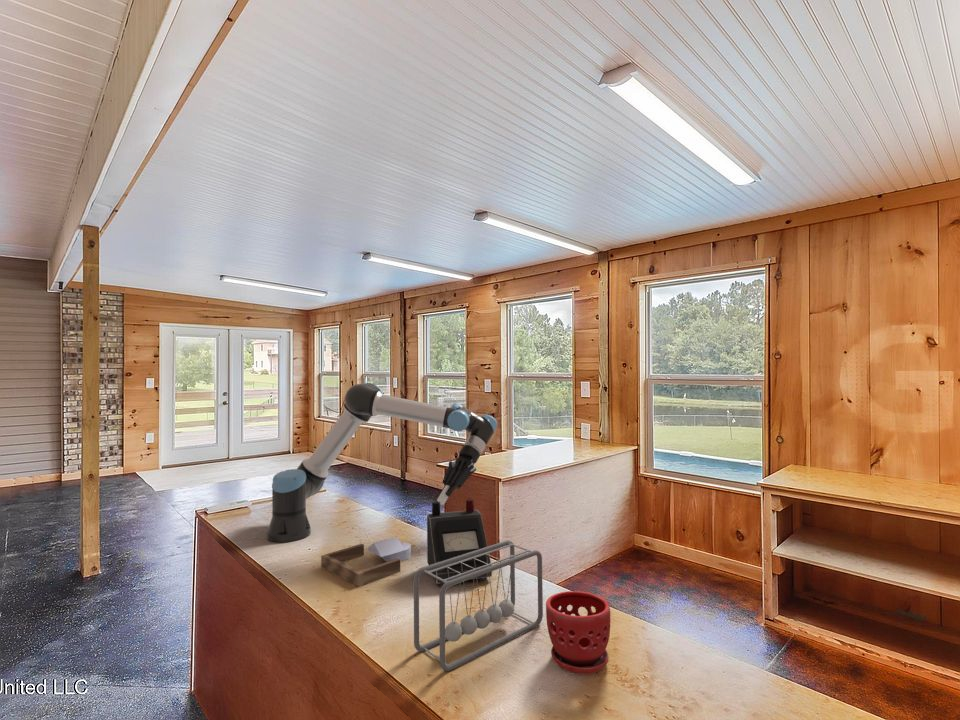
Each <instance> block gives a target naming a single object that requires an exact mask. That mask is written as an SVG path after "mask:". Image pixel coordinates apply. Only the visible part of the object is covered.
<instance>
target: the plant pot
mask: <svg viewBox="0 0 960 720" xmlns="http://www.w3.org/2000/svg"><path fill="white" fill-rule="evenodd" d="M569 606H571V607H572V608H571V609H570V610H569V609H568V607H569ZM592 607H593V608H594V609H595V611H593V609H592ZM579 608H584V609H585V610H586V611H587V614H586V615H580V613H579V610H580V609H579ZM545 615H546V618H545V619H546V625H547V632H548V635H549V639H550V641H551V645H552V647H551V650H550V654H551V658H552V659H553V662H554V663H555V664H556V665H557V666H558V667H559V668H561V669H563V670H564V671H566V672H569V673H573V674H577V675H590V674H594V673H595V672H596V673H597V672H599V671H601V670H602V669H604V668H605V667H606V665H607V664H608V662H609V658H610V657H609V653H608V651H607V646H608V644H609V640H610V634H611V607H610V603H608V601H607V600H606V599H605V598H603V597H601V596H599V595H597V594H594V593H591V592H586V591H577V590H572V591H571V590H570V591H569V590H568V591H562V592H558V593H554V594H552V595H550V597H548V598H547V600H546V602H545ZM596 673H595V674H596Z"/></svg>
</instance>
